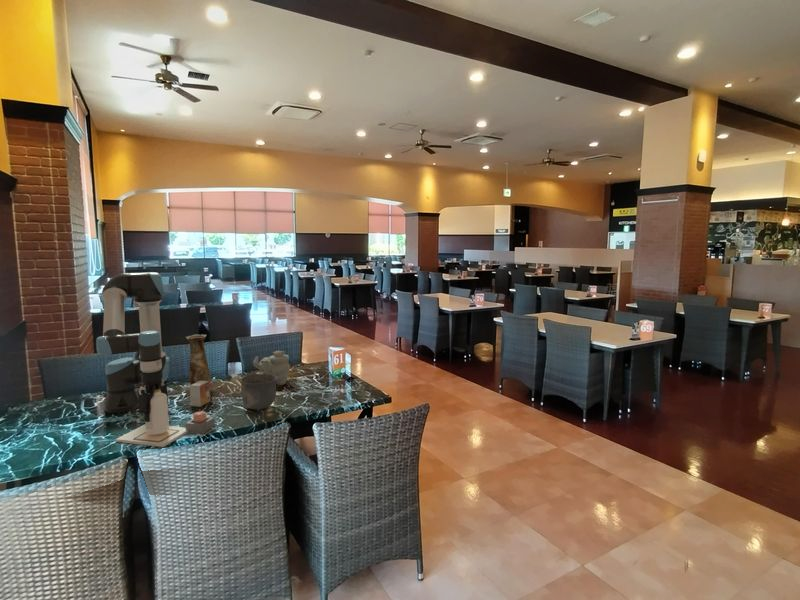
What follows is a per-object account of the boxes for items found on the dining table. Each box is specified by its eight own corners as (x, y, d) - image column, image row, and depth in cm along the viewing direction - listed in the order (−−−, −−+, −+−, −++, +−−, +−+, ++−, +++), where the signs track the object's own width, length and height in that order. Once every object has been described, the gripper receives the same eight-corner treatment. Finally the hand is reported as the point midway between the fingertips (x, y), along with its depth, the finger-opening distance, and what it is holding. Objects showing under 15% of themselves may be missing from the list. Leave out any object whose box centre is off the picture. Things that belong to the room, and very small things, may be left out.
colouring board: (116, 441, 179) (115, 438, 179) (146, 425, 195) (146, 423, 194) (163, 447, 174) (163, 444, 174) (191, 430, 190) (190, 427, 190)
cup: (286, 403, 221) (285, 374, 219) (266, 417, 205) (265, 385, 203) (254, 400, 226) (253, 371, 224) (233, 413, 209) (231, 381, 207)
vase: (203, 394, 235) (200, 338, 231) (185, 393, 237) (181, 337, 233) (214, 388, 245) (212, 334, 241) (197, 387, 247) (193, 333, 243)
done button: (190, 424, 189) (190, 415, 188) (198, 419, 194) (198, 410, 193) (201, 425, 188) (200, 416, 187) (209, 420, 192) (208, 411, 192)
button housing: (185, 432, 188) (185, 423, 187) (198, 424, 196) (197, 415, 195) (202, 434, 186) (202, 424, 186) (214, 426, 194) (214, 417, 193)
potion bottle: (173, 427, 188) (170, 385, 185) (163, 435, 180) (160, 392, 177) (152, 427, 188) (149, 385, 185) (142, 436, 180) (138, 392, 177)
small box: (200, 407, 217) (199, 385, 216) (190, 406, 218) (189, 385, 217) (210, 401, 225) (209, 380, 224) (200, 400, 226) (199, 380, 225)
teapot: (252, 384, 252) (251, 351, 249) (272, 377, 265) (271, 346, 262) (275, 388, 244) (274, 355, 242) (293, 381, 257) (292, 349, 255)
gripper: (141, 377, 170) (145, 436, 172) (176, 364, 187) (179, 417, 190) (124, 376, 171) (129, 434, 174) (160, 363, 189) (164, 416, 192)
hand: (155, 425), depth 182 cm, fingers open, 5 cm apart
